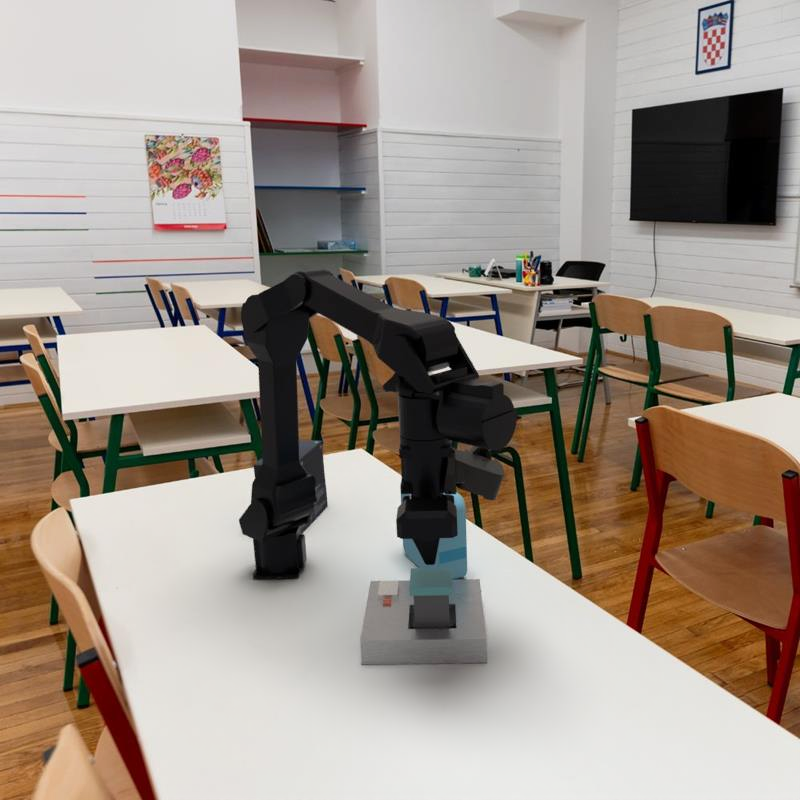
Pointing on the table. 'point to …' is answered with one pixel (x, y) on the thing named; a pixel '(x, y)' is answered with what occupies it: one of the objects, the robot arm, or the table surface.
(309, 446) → the small box
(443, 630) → the faceplate
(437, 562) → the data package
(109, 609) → the table surface
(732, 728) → the table surface
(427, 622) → the plug
